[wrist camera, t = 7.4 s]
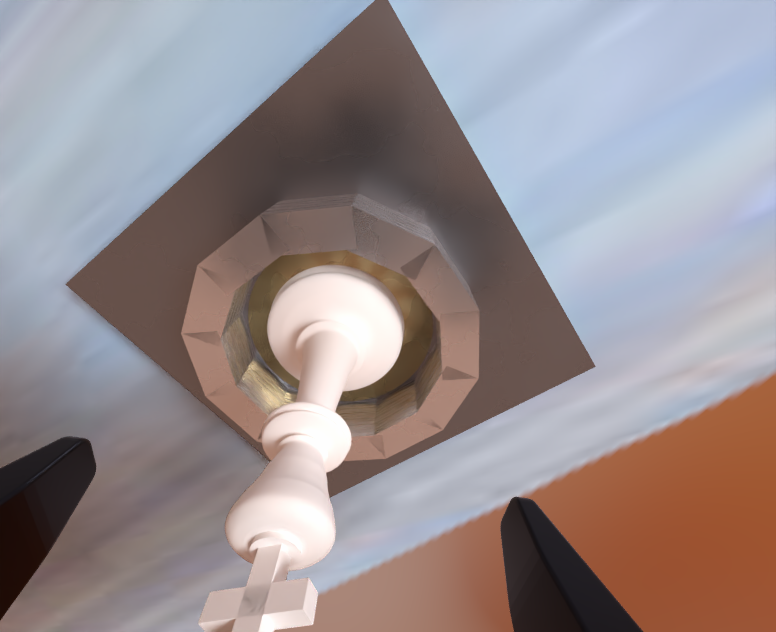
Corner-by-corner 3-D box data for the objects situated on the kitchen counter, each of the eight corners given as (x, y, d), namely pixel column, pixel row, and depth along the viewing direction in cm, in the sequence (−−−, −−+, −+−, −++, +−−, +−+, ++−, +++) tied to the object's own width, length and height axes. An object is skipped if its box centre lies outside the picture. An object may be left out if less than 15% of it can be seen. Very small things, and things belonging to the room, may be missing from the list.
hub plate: (322, 482, 20) (310, 543, 17) (89, 272, 15) (16, 308, 12) (582, 350, 16) (622, 399, 13) (384, 5, 11) (380, -36, 8)
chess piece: (248, 283, 13) (-43, 601, 4) (384, 248, 13) (363, 538, 4) (298, 393, 16) (168, 760, 7) (417, 368, 15) (453, 735, 6)
